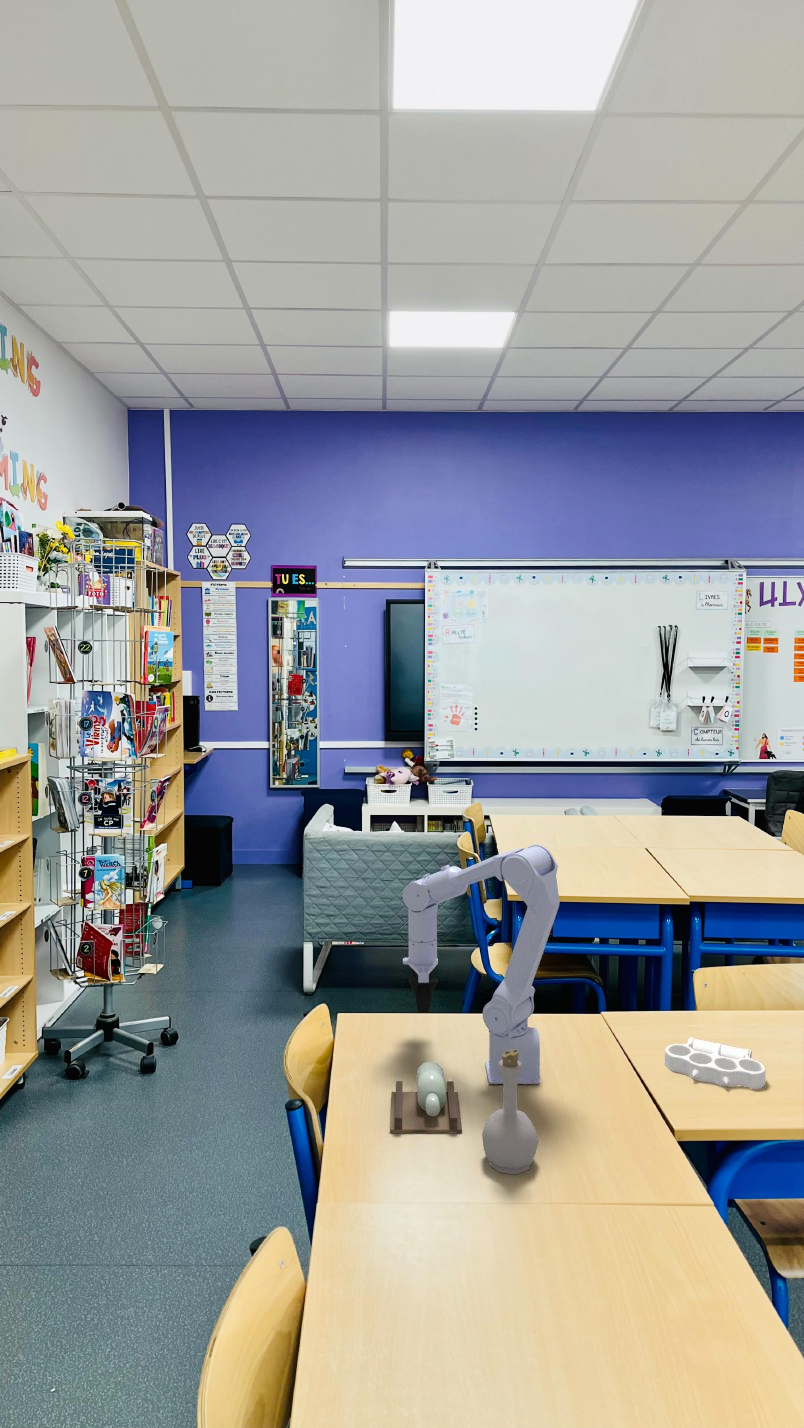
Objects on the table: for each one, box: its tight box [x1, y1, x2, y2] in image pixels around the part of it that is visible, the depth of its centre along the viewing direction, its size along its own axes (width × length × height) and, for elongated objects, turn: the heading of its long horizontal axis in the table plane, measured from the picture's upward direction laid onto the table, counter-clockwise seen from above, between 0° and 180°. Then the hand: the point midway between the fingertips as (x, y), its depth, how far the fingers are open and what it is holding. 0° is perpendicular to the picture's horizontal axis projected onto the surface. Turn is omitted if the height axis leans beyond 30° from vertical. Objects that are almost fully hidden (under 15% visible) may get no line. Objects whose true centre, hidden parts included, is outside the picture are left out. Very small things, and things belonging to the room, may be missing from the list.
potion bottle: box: [481, 1049, 539, 1175], centre depth 131 cm, size 9×9×18 cm
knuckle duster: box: [664, 1037, 767, 1090], centre depth 160 cm, size 3×18×15 cm
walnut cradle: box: [389, 1080, 463, 1134], centre depth 145 cm, size 12×12×3 cm
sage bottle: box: [416, 1061, 447, 1116], centre depth 146 cm, size 5×5×12 cm
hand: (422, 1003), depth 169 cm, fingers open, 7 cm apart
